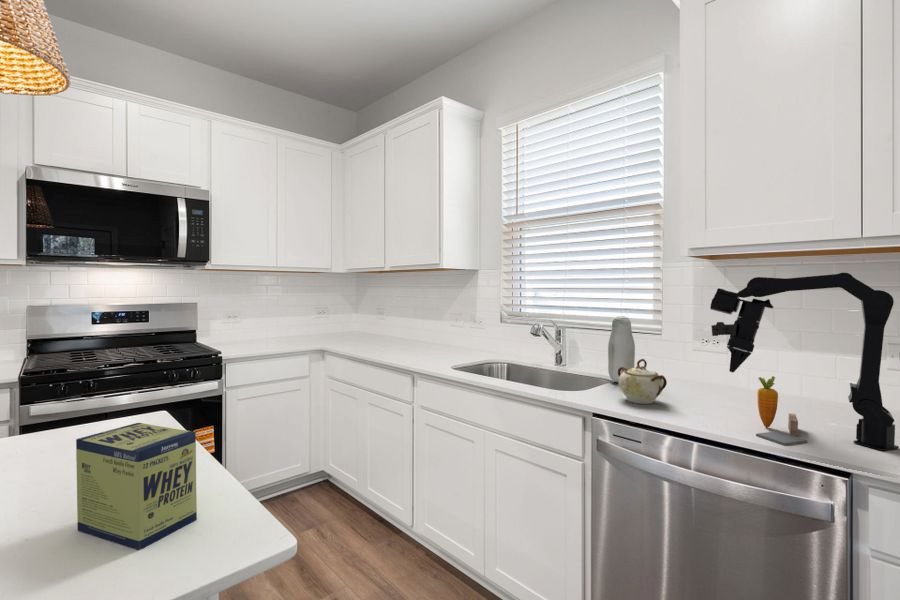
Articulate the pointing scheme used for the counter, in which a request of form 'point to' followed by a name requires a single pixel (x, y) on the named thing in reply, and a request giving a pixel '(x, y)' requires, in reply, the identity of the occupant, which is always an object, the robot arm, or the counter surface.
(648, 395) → the sugar bowl
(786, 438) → the charcoal mat
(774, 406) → the carrot
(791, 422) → the walnut block
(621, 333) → the grey bottle
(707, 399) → the counter surface
